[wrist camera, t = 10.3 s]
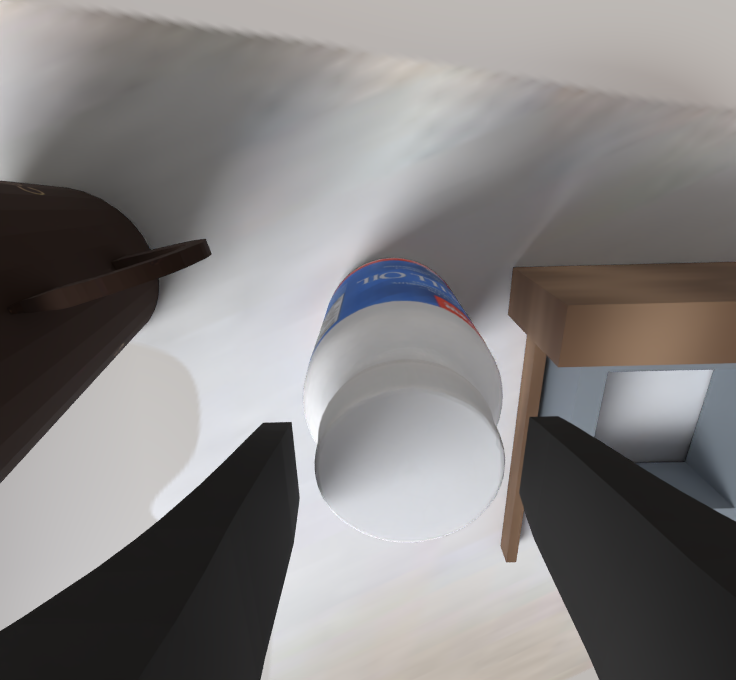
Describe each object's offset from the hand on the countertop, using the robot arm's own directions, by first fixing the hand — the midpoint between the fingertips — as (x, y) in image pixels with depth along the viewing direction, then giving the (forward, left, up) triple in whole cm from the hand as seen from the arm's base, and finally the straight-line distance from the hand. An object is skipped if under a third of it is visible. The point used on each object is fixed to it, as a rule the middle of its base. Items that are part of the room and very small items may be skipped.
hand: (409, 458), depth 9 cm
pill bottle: (0, 0, -10) cm, 10 cm away
